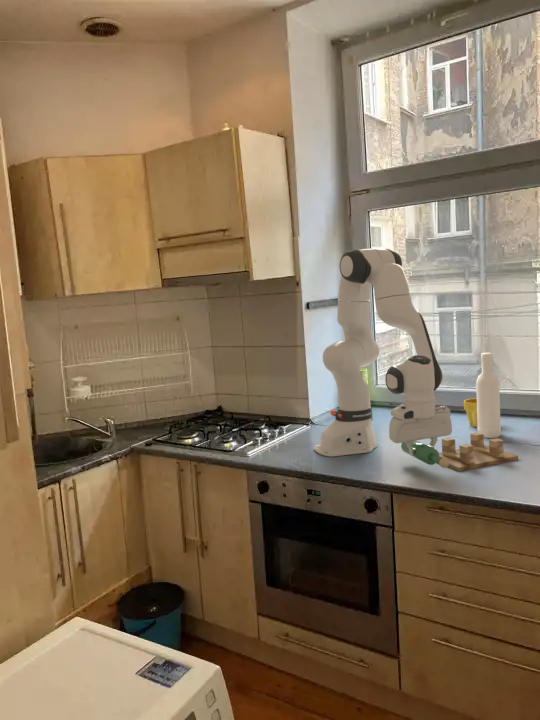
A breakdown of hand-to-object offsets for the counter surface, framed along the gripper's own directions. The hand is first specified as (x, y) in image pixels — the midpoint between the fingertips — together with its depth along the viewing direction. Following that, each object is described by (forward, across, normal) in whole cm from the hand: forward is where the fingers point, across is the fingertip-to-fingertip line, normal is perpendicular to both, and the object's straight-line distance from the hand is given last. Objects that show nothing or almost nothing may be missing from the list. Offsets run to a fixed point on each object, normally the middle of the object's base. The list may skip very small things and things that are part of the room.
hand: (421, 452), depth 191 cm
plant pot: (+6, -46, -35) cm, 58 cm away
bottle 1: (+2, 0, +2) cm, 3 cm away
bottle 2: (+6, -40, -21) cm, 46 cm away
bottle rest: (+5, -19, -1) cm, 19 cm away
